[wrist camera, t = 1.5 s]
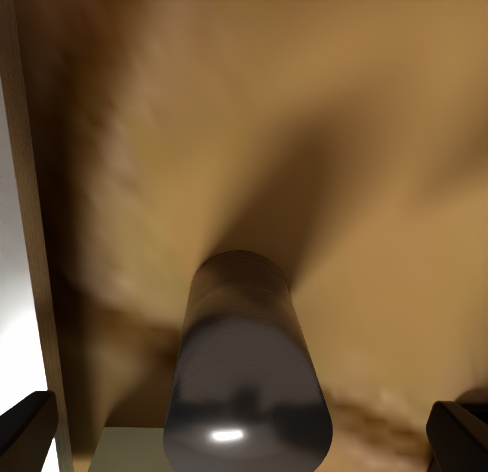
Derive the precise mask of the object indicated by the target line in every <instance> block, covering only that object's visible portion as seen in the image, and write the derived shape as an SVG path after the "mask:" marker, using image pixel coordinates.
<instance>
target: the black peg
mask: <svg viewBox="0 0 488 472" xmlns="http://www.w3.org/2000/svg"><path fill="white" fill-rule="evenodd" d="M332 436H333V428H332V422H331V417H330V414H329V411H328V408H327V405H326V402H325V399H324V396H323V393H322V390H321V387H320V384H319V381H318V378H317V375H316V372H315V369H314V366H313V363H312V360H311V357H310V354H309V351H308V348H307V345H306V342H305V339H304V336H303V333H302V330H301V327H300V324H299V321H298V318H297V315H296V312H295V309H294V306H293V303H292V300H291V297H290V294H289V291H288V288H287V285H286V282H285V279H284V277H283V275H282V273H281V271H280V270H279V268H278V267H277V266H276V265H275V264H274V263H273V262H272V261H270V260H269V259H268V258H266V257H264V256H262V255H260V254H257V253H254V252H250V251H229V252H225V253H222V254H219V255H217V256H215V257H213V258H211V259H210V260H208V261H207V262H205V263H204V264H203V265H202V266H201V267H200V268H199V270H198V271H197V272H196V274H195V276H194V278H193V280H192V283H191V287H190V292H189V297H188V303H187V308H186V313H185V319H184V324H183V329H182V335H181V340H180V346H179V351H178V356H177V362H176V367H175V372H174V378H173V383H172V389H171V394H170V399H169V405H168V410H167V415H166V421H165V426H164V432H163V448H164V451H165V455H166V457H167V459H168V461H169V463H170V465H171V466H172V468H173V469H174V470H175V471H176V472H314V471H315V470H316V469H317V467H318V466H319V465H320V464H321V463H322V461H323V460H324V458H325V457H326V455H327V453H328V451H329V448H330V445H331V442H332Z"/></svg>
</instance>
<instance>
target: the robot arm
mask: <svg viewBox="0 0 488 472" xmlns="http://www.w3.org/2000/svg"><path fill="white" fill-rule="evenodd" d="M58 422H59V415H58V408H57V400H56V395H55V392H54V391H51V390H36V391H33V392H31V393H30V394H29V395H27V396H26V397H24V398H23V399H22V400H20V401H19V402H18V403H16V404H15V405H13V406H12V407H11V408H9V409H8V410H7V411H5V412H4V413H2V414H1V415H0V472H42V469H43V466H44V464H45V461H46V458H47V455H48V452H49V450H50V447H51V444H52V441H53V439H54V436H55V433H56V430H57V427H58ZM426 433H427V437H428V440H429V442H430V445H431V448H432V450H433V453H434V456H435V457H434V459H433V462H432V464H431V467H430V470H429V472H488V405H474V404H464V405H460V406H459V405H458V404H457V403H455V402H452V401H436V402H435V403H434V404H433V407H432V410H431V413H430V415H429V418H428V421H427V424H426Z"/></svg>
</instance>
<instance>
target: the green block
mask: <svg viewBox="0 0 488 472" xmlns="http://www.w3.org/2000/svg"><path fill="white" fill-rule="evenodd" d="M163 432H164V428H137V427H104V429H103V431H102V434H101V437H100V439H99V442H98V445H97V448H96V450H95V453H94V456H93V458H92V461H91V464H90V466H89V469H88V472H176V471H175V470H174V469H173V468H172V466H171V465H170V463H169V461H168V459H167V457H166V455H165V451H164V448H163Z"/></svg>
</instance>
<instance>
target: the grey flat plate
mask: <svg viewBox="0 0 488 472" xmlns="http://www.w3.org/2000/svg"><path fill="white" fill-rule="evenodd" d="M36 390H51V391H54V392H55V395H56V400H57V408H58V415H59V422H58V427H57V430H56V433H55V436H54V439H53V441H52V444H51V447H50V450H49V452H48V455H47V458H46V461H45V464H44V466H43V469H42V472H74V468H73V460H72V452H71V444H70V437H69V429H68V421H67V413H66V405H65V397H64V389H63V382H62V374H61V366H60V358H59V350H58V342H57V334H56V327H55V319H54V311H53V303H52V295H51V287H50V279H49V272H48V264H47V256H46V248H45V240H44V232H43V224H42V217H41V209H40V201H39V193H38V185H37V177H36V170H35V162H34V154H33V146H32V138H31V130H30V122H29V115H28V107H27V99H26V91H25V83H24V75H23V67H22V60H21V52H20V44H19V36H18V28H17V20H16V12H15V5H14V0H0V415H1V414H2V413H4V412H5V411H7V410H8V409H9V408H11V407H12V406H13V405H15V404H16V403H18V402H19V401H20V400H22V399H23V398H24V397H26V396H27V395H29V394H30V393H31V392H33V391H36Z"/></svg>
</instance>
